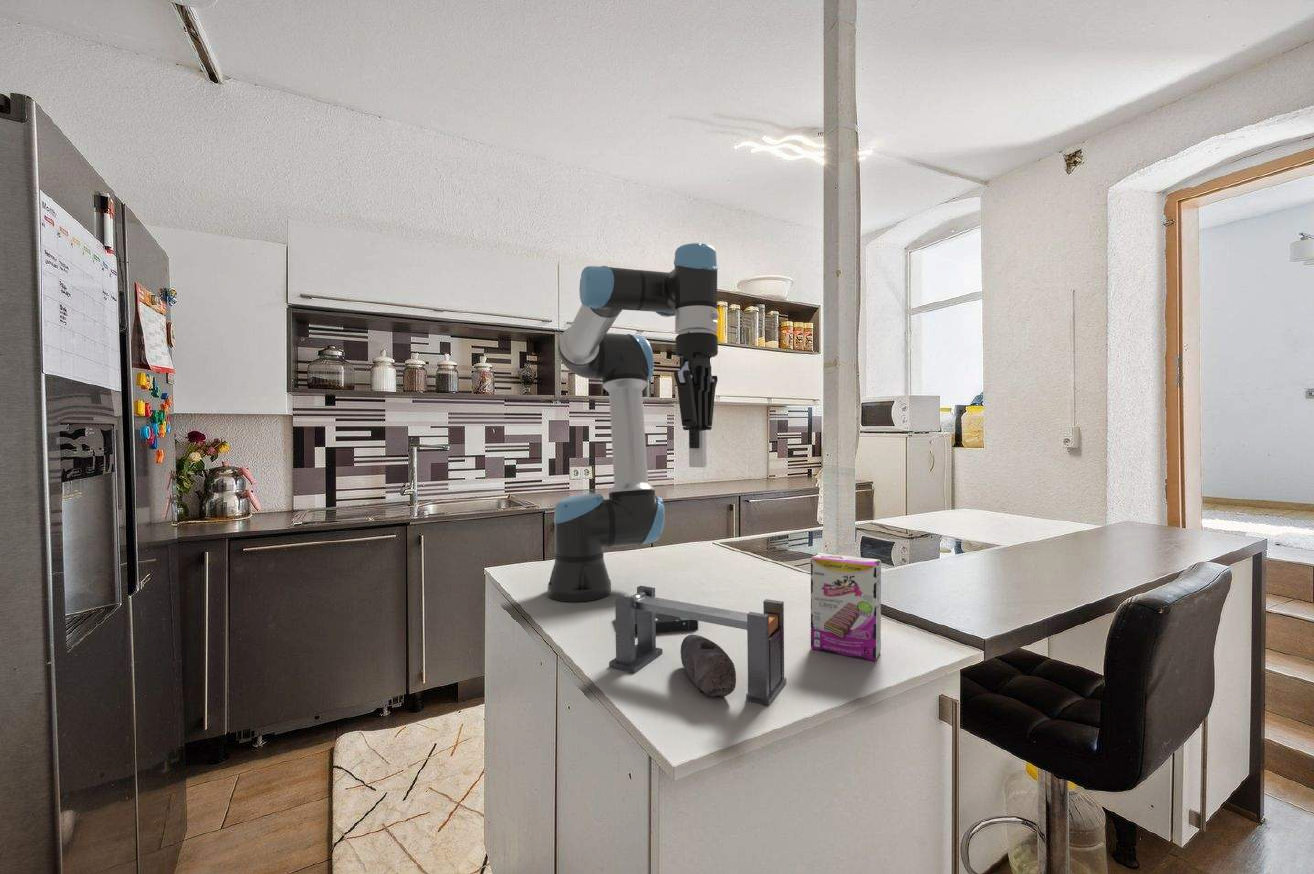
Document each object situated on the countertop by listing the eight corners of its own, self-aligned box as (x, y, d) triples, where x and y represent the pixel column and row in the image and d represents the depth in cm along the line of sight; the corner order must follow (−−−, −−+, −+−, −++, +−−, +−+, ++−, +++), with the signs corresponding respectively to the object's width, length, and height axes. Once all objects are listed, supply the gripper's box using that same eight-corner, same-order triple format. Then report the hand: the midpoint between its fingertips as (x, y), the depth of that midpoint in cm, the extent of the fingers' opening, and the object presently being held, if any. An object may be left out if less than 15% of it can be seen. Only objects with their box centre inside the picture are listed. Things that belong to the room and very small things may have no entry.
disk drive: (624, 640, 104) (699, 632, 107) (623, 625, 104) (699, 617, 107) (617, 621, 114) (686, 614, 117) (616, 608, 114) (685, 601, 117)
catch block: (764, 678, 86) (764, 598, 86) (786, 683, 84) (785, 601, 84) (745, 700, 79) (745, 613, 79) (768, 705, 77) (768, 617, 77)
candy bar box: (809, 650, 97) (809, 557, 97) (817, 640, 101) (816, 551, 101) (877, 663, 91) (876, 564, 91) (882, 652, 95) (881, 558, 95)
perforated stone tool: (671, 665, 91) (671, 623, 91) (701, 661, 93) (700, 620, 93) (705, 709, 77) (704, 659, 77) (739, 703, 78) (739, 654, 78)
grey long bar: (638, 602, 96) (637, 590, 96) (777, 628, 83) (777, 613, 83) (622, 610, 92) (622, 597, 92) (767, 638, 79) (767, 623, 79)
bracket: (638, 647, 98) (637, 584, 98) (662, 653, 96) (661, 587, 96) (609, 666, 91) (608, 597, 91) (634, 673, 88) (633, 601, 88)
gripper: (699, 326, 90) (700, 469, 90) (730, 337, 101) (731, 465, 102) (659, 331, 94) (661, 468, 94) (694, 341, 105) (695, 464, 105)
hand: (697, 466), depth 98 cm, fingers closed
